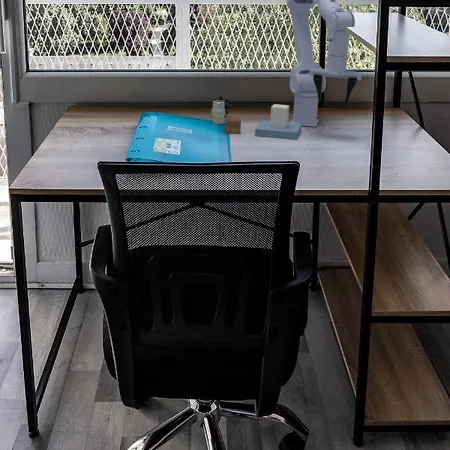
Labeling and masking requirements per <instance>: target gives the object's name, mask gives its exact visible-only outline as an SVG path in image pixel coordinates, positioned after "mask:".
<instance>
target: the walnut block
mask: <svg viewBox="0 0 450 450" xmlns="http://www.w3.org/2000/svg"><path fill="white" fill-rule="evenodd" d="M241 127H242V120H241V119H240V118H239V117H226V116H224V132H225V133H226V134H228V135H241Z"/></svg>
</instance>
